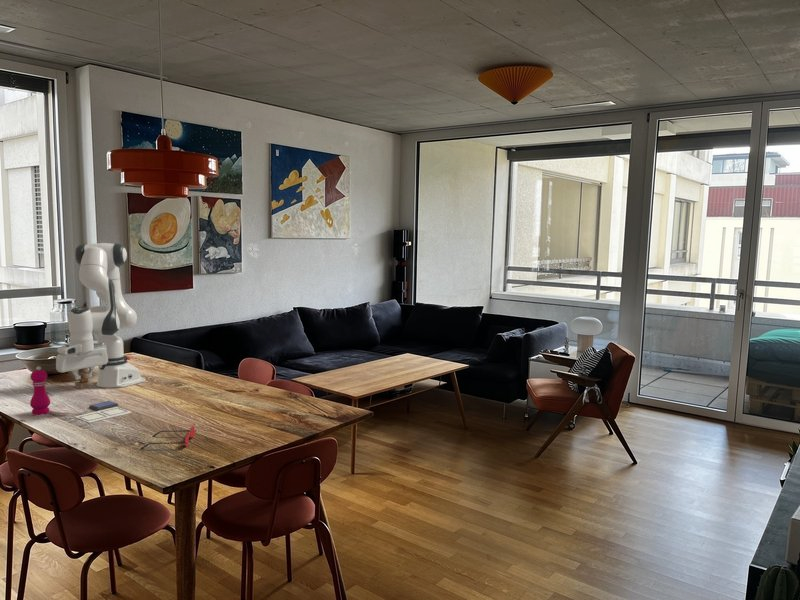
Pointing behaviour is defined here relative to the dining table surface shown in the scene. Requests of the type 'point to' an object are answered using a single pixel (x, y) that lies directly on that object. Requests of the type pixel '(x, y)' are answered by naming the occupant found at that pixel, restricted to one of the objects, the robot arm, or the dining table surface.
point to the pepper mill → (39, 392)
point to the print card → (102, 414)
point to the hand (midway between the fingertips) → (83, 378)
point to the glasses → (178, 442)
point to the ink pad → (103, 405)
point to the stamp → (83, 379)
